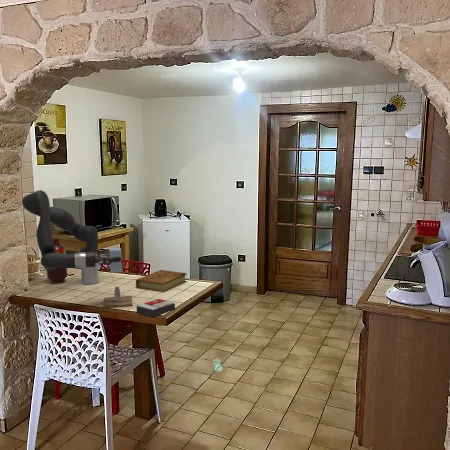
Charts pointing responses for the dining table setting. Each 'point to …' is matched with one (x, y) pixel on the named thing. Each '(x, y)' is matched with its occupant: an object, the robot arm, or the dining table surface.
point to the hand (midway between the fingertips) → (120, 258)
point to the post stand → (117, 300)
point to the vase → (59, 272)
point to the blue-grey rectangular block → (115, 265)
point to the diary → (161, 281)
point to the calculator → (155, 307)
